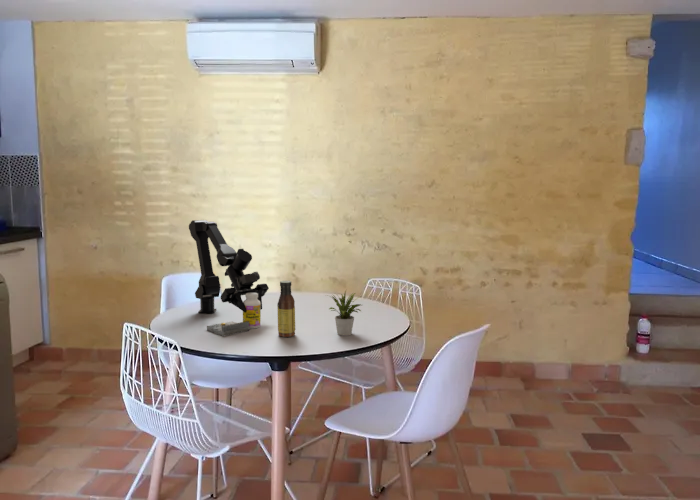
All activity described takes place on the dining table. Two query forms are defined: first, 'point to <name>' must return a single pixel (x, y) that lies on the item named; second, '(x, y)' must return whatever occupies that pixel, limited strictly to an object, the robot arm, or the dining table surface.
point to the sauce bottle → (286, 311)
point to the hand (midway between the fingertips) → (253, 310)
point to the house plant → (345, 315)
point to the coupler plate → (229, 328)
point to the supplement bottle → (252, 310)
